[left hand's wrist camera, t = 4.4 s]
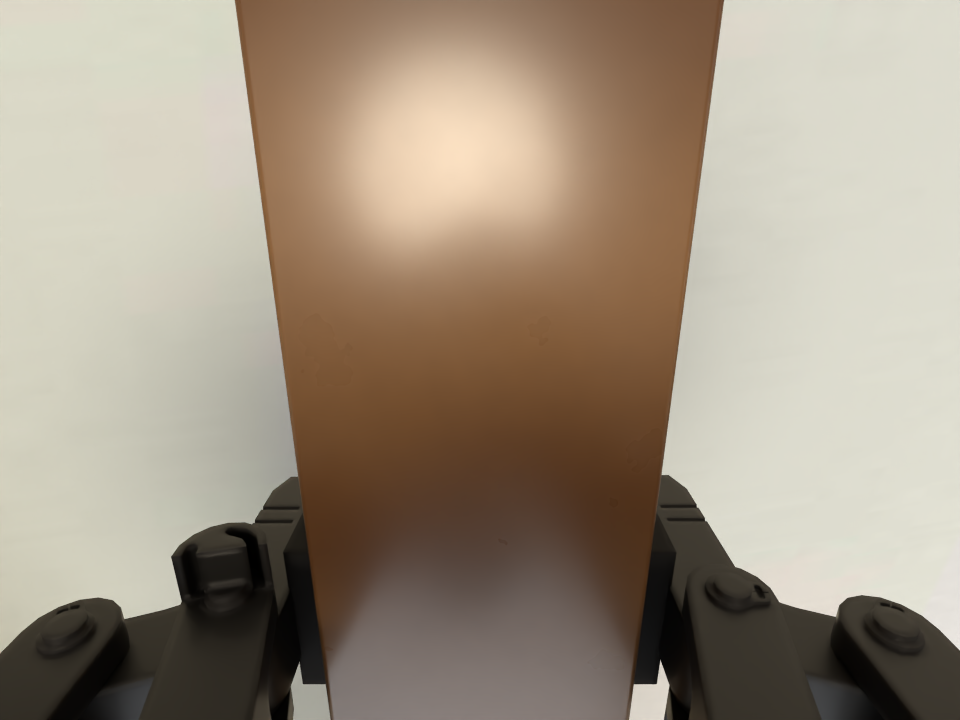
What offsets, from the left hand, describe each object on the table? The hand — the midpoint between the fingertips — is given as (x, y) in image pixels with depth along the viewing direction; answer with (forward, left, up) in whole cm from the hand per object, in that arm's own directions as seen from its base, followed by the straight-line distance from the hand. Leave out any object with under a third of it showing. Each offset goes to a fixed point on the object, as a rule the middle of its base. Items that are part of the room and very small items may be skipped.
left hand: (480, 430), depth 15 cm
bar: (+5, +5, -1) cm, 8 cm away
